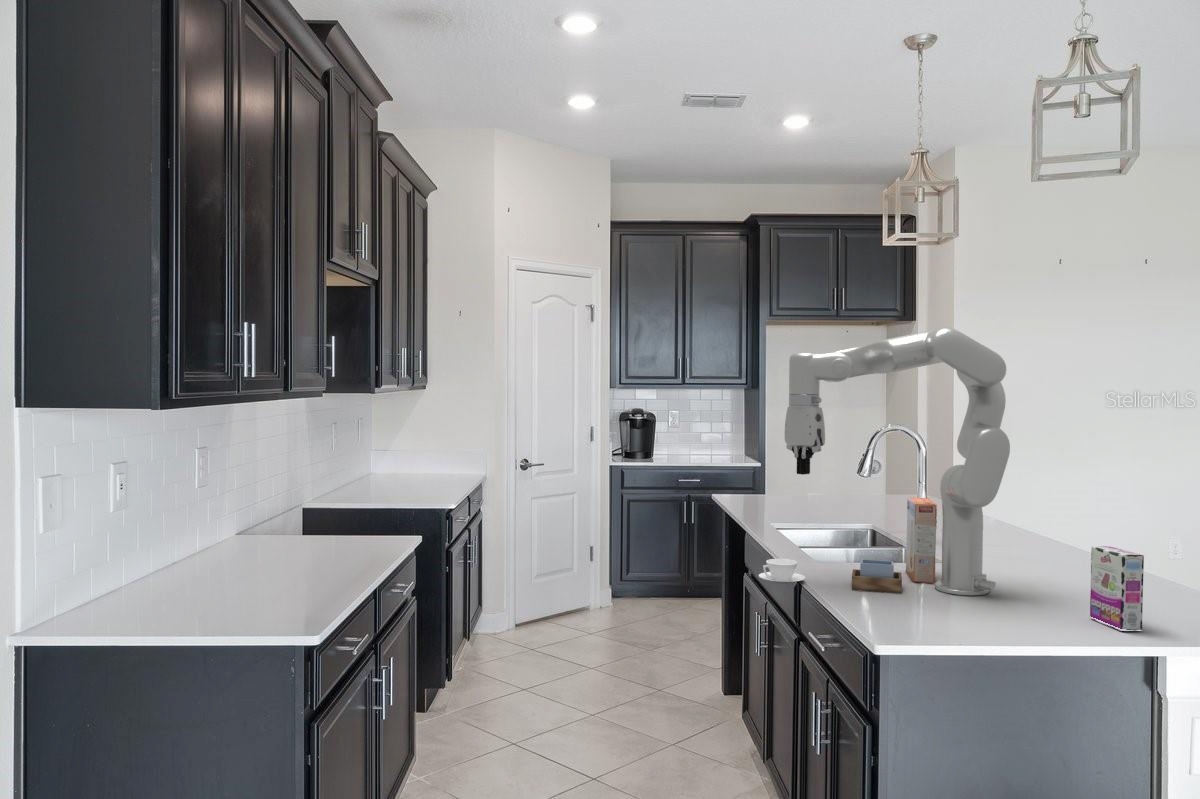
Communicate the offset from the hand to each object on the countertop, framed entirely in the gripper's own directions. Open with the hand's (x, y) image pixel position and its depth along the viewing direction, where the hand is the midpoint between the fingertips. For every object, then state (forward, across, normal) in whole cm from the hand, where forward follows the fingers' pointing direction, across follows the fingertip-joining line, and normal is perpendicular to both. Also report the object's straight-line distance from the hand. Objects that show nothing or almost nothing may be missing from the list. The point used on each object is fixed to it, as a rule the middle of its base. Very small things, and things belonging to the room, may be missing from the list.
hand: (803, 473), depth 229 cm
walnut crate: (+29, -10, -16) cm, 35 cm away
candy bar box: (+29, -62, -31) cm, 75 cm away
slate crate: (+28, -10, -16) cm, 34 cm away
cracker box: (+29, -9, -36) cm, 47 cm away
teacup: (+29, +8, -1) cm, 31 cm away
